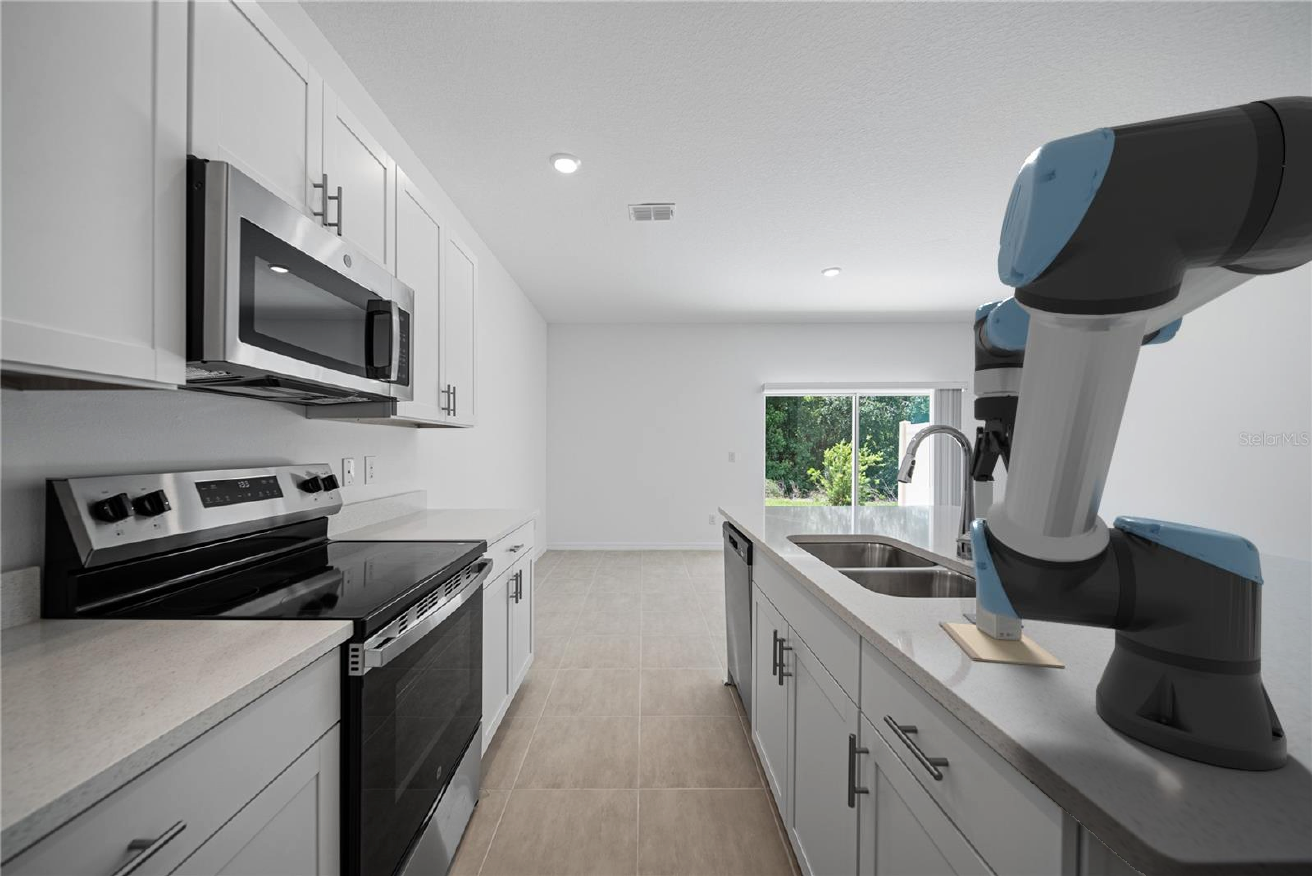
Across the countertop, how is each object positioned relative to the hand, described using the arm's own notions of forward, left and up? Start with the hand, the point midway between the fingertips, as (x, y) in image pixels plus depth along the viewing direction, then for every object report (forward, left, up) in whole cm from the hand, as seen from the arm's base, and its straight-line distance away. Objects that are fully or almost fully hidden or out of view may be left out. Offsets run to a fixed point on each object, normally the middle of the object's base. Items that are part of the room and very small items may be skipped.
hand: (999, 523), depth 89 cm
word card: (+8, -2, -19) cm, 20 cm away
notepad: (-4, +2, -19) cm, 19 cm away
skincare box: (0, 0, -19) cm, 19 cm away
